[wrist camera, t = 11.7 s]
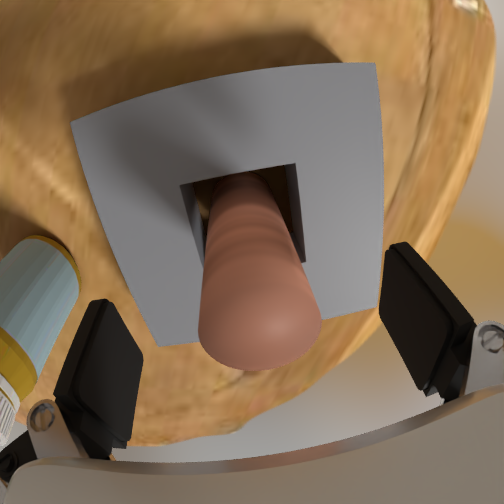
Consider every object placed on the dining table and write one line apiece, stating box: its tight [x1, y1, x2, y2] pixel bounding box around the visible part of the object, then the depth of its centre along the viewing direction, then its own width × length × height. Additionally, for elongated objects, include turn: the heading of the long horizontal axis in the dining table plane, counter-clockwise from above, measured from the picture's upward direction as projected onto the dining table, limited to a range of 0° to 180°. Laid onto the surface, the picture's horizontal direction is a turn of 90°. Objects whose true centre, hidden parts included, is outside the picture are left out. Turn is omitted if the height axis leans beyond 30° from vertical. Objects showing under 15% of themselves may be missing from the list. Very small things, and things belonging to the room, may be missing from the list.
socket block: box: [70, 63, 384, 347], centre depth 18 cm, size 16×16×4 cm
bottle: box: [0, 235, 81, 445], centre depth 15 cm, size 7×7×15 cm
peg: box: [198, 171, 322, 371], centre depth 15 cm, size 4×4×12 cm
